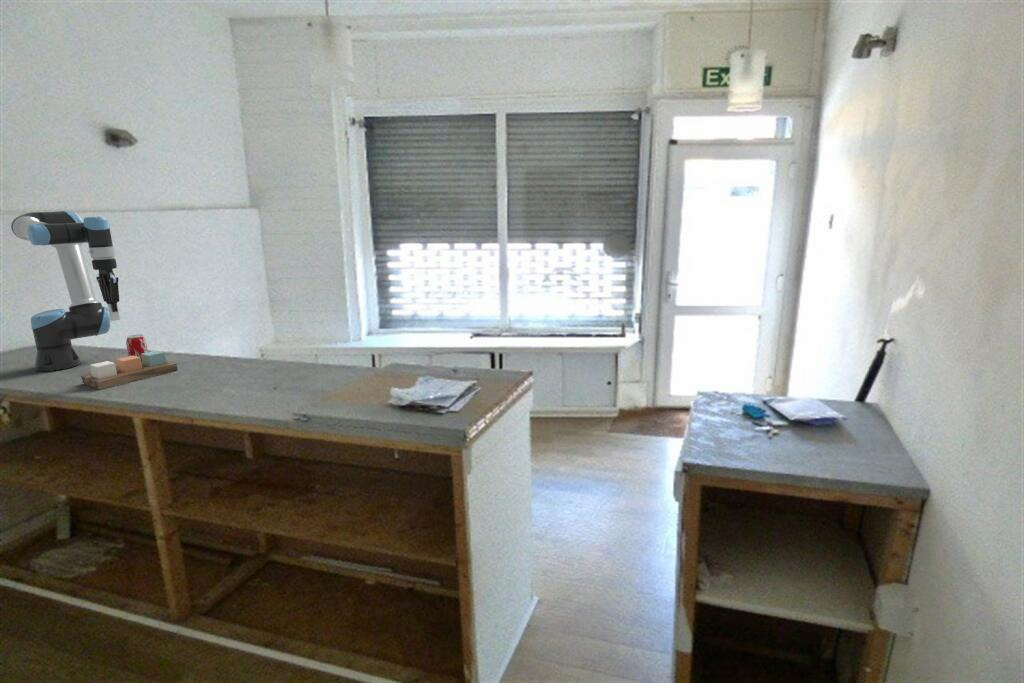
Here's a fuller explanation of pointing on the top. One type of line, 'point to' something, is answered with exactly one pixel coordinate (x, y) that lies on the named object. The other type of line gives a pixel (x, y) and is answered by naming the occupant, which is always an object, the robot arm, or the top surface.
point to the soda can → (136, 345)
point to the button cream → (103, 369)
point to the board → (129, 375)
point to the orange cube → (129, 364)
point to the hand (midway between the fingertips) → (115, 320)
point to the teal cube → (153, 358)
